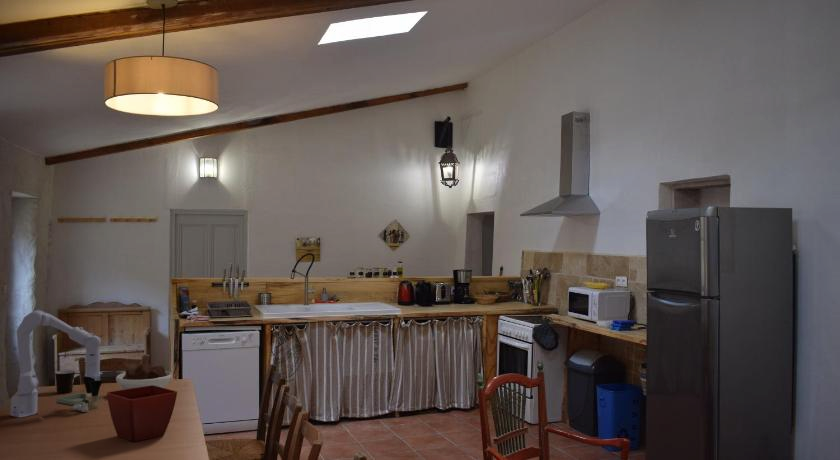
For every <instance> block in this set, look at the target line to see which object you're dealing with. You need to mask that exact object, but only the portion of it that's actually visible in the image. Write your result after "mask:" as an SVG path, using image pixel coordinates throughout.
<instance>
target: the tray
mask: <svg viewBox="0 0 840 460" xmlns="http://www.w3.org/2000/svg"><path fill="white" fill-rule="evenodd" d="M86 394H88V393H87V392H80V393H79V392H78V393H75V394H70V395H65V396H61V397H56V404H58V403H60V404H64V405H70V406H74V405H75V404H83V402H82V400H83V399H86ZM101 399H102V396H101V395H99V396H98V401H101Z"/></svg>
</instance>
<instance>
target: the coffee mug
mask: <svg viewBox="0 0 840 460" xmlns="http://www.w3.org/2000/svg"><path fill="white" fill-rule="evenodd" d="M75 374H76V370H69V369H68V370H58V371H55V372H54V375H55V384H56V386H55V387H56V392H57V394H59V395H66V394H71V393H72V392H73V388H74V381H75V376H76V375H75Z"/></svg>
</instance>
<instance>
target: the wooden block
mask: <svg viewBox="0 0 840 460" xmlns="http://www.w3.org/2000/svg"><path fill="white" fill-rule="evenodd" d="M98 396H100V395H99V394H98ZM98 396H92V393H87V394H86V400H89V403H88V411H89V410H95V409H96V410H97V409H98V408H99V400H98Z"/></svg>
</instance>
